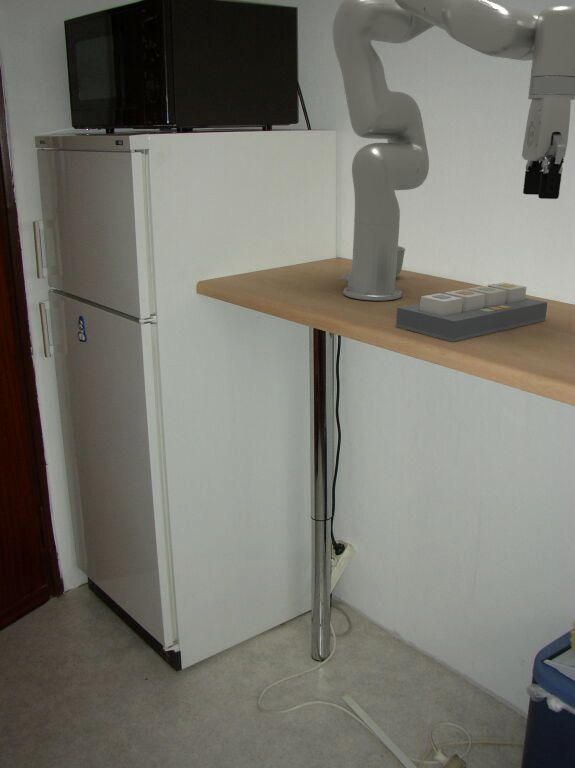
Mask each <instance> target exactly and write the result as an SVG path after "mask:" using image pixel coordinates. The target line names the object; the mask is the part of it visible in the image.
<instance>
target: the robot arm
mask: <svg viewBox="0 0 575 768" xmlns="http://www.w3.org/2000/svg"><path fill="white" fill-rule="evenodd" d="M434 27H438V28H440V29H441V30H443V31H445V32H446V34H448V35H449V36H450V37H451V38H452V39H453V40H455V41H457V42H459V43H461V44H463V45H464V46H466V47H468V48H469V49H473V50H474V51H476V52H479V53H481V54H483V55H486V56H490V57H495V58H502V59H504V58H505V59H511V60H516V61H523V62H524V61H525V62H526V61H532V62H531V68H530V69H531V70H530V71H531V72H530V79H529V87H528V88H529V89H528V95H527V96H528V98H527V99H528V100H531V101H530V106H529V110H528V113H527V114H528V115H527V120H526V125H525V126H526V127H525V132H524V139H523V145H522V151H521V153H522V154H521V156H522V158H523V160H525V161H527V162H526V165H525V171H524V173H525V174H524V180H523V181H524V182H523V190H522V193H523V194H524V195H537V197H538V199H541V200H543V199H544V200H545V199H546V200H557V199H559V197H560V189H561V182H562V173H563V163H564V162H565V157H566V154H567V153H566V152H567V147H568V141H569V131H570V121H571V105H572V103H571V102H572V101H574V100H575V5H556V6H549V7H548V6H547V7H545V8H543V9H542V10H541V11H540V12H533V11H527V10H523V9H519V8H514V7H508V6H504V5H500V4H499V3H495V2H493V1H490V0H342V1H341V3H340V5H339V6H338V8H337V10H336V12H335V14H334V19H333V25H332V41H333V47H334V51H335V54H336V58H337V60H338V64H339V68H340V70H341V71H340V72H341V75H342V81H343V87H344V88H343V89H344V93H345V100H346V104H347V105H346V106H347V110H348V114H349V120H350V124H351V128H352V130H353V132H354V133H355V135H356V136H358V137H359V138H360V137H361V138H364V139H371V140H373V139H375V140H386V141H387V142H373V143H370V144H366V145H364V146H362V147H361V148H360V149H359V150H358V151H357V152H356V153H355V155H354V157H353V159H352V163H351V164H352V165H351V175H352V177H351V178H352V183H353V188H354V189H353V190H354V216H353V217H354V219H353V221H354V223H353V226H354V227H353V240H352V241H353V244H352V248H353V249H352V261H351V263H352V265H351V271H349V270H347V271H346V272H345V273H343V274H342V275H341V280H342V281H345V282H347V286H346V287H344V289H343V295H344V296H345V297H348V298H352V299H357V300H361V301H362V300H363V301H374V302H377V301H380V302H382V301H393V300H397V299H398V300H399V299H400V298H401V297H402V295H403V290H401V289H400V288H397V287H396V283H397V282H396V278H397V276H396V267H397V253H398V246H399V235H400V223H401V222H400V218H401V212H400V211H401V210H400V204H399V201H398V198H397V195H396V192H395V191H408V190H409V191H410V190H414V189H417V188H419V187H420V186H421V185H423V184H424V182H425V181H426V179H427V178H428V174H429V169H430V157H429V153H428V147H427V146H428V145H427V140H426V135H425V130H424V123H423V117H422V112H421V109H420V106H418V104H417V101H416V100H415V99H414V97H412V96H411V95H409V94H408V93H405V92H401V91H391V90H390V89H389V86H388V85H387V81H386V80H387V79H386V75H385V69H384V65H383V62H382V59H381V58H380V56H379V54H378V53H377V51H376V50H375V47H373V45H372V41H376V42H381V43H382V42H383V43H390V44H402V43H403V44H405V43H407V42H409V41H411V40H413V39H415V38H417V37H418V36H420V35H421V34H423V33H425V32H427V31H428V30H430V29H431V28H434Z"/></svg>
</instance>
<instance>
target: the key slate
mask: <svg viewBox="0 0 575 768" xmlns="http://www.w3.org/2000/svg"><path fill="white" fill-rule="evenodd" d="M462 302H463V298H459V297H455V296H450V295H445V294H444V293H433V294H427V295H422V296H420V302H419V304H420V311H423V312H427V313H431V314H435V315H439V316H447V315H452V314H457V313H461V312H462Z"/></svg>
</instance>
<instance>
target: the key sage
mask: <svg viewBox="0 0 575 768" xmlns="http://www.w3.org/2000/svg"><path fill="white" fill-rule="evenodd" d="M466 290H467V291H472V292H477V293H482V294H485V302H484V306H485V307H493V306H498V305H503V304H505V299H506V290H502V289H497V288H491V287H488V286H486V285H481V286H476V287H475V286H474V287H470V288H466Z"/></svg>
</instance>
